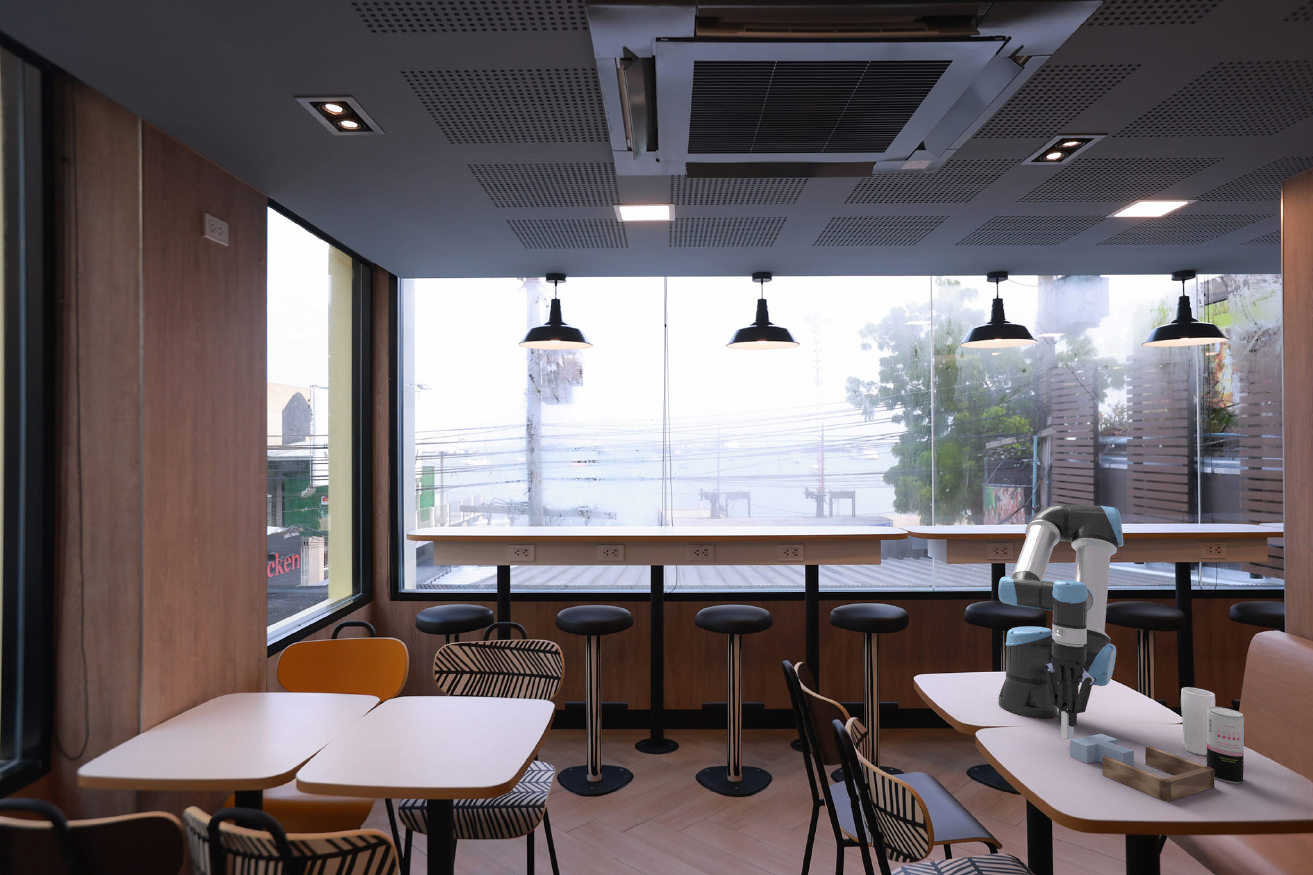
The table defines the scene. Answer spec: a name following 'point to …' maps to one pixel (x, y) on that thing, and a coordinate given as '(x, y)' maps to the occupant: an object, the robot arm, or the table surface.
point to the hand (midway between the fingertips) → (1067, 737)
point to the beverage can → (1225, 744)
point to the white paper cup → (1195, 718)
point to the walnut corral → (1182, 784)
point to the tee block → (1100, 749)
